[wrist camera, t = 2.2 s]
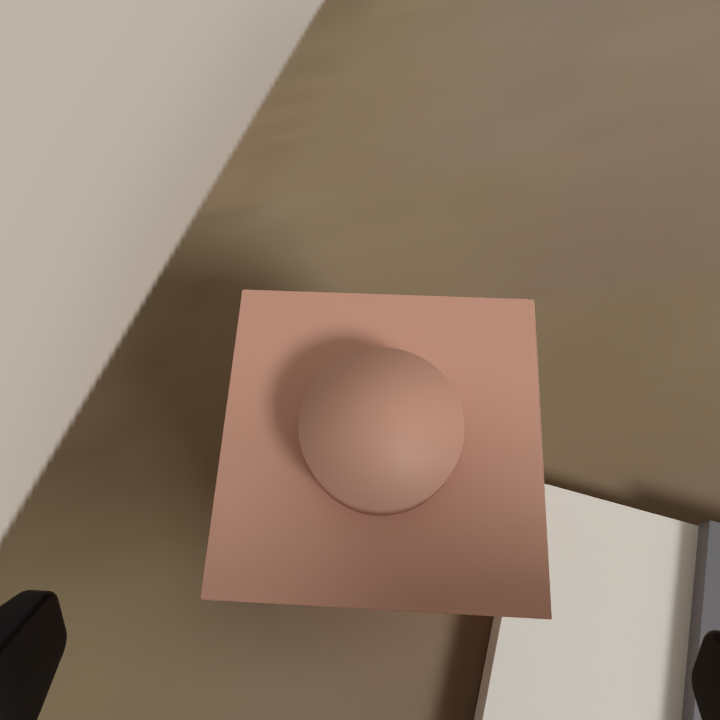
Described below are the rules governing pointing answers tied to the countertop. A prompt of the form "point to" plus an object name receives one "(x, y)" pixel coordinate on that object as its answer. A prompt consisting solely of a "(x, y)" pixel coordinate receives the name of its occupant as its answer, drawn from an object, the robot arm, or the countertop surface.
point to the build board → (608, 619)
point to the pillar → (382, 456)
